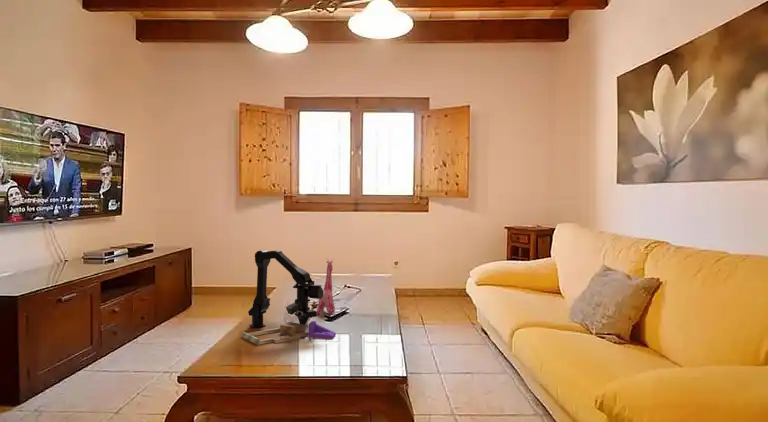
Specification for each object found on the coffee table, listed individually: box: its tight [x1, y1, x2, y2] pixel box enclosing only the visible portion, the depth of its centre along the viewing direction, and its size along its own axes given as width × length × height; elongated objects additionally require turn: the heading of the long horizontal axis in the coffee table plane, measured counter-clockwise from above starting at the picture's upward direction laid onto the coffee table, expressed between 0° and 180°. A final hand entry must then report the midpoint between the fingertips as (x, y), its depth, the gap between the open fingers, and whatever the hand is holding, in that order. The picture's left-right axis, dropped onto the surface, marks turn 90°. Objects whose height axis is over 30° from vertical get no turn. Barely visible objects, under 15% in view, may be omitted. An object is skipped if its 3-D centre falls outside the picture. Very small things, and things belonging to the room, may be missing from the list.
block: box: [279, 321, 306, 337], centre depth 288 cm, size 10×7×4 cm
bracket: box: [307, 320, 337, 340], centre depth 283 cm, size 12×7×7 cm, turn 82°
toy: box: [316, 258, 336, 316], centre depth 334 cm, size 9×26×30 cm, turn 174°
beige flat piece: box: [241, 327, 308, 346], centre depth 281 cm, size 19×28×2 cm
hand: (302, 328), depth 291 cm, fingers closed
